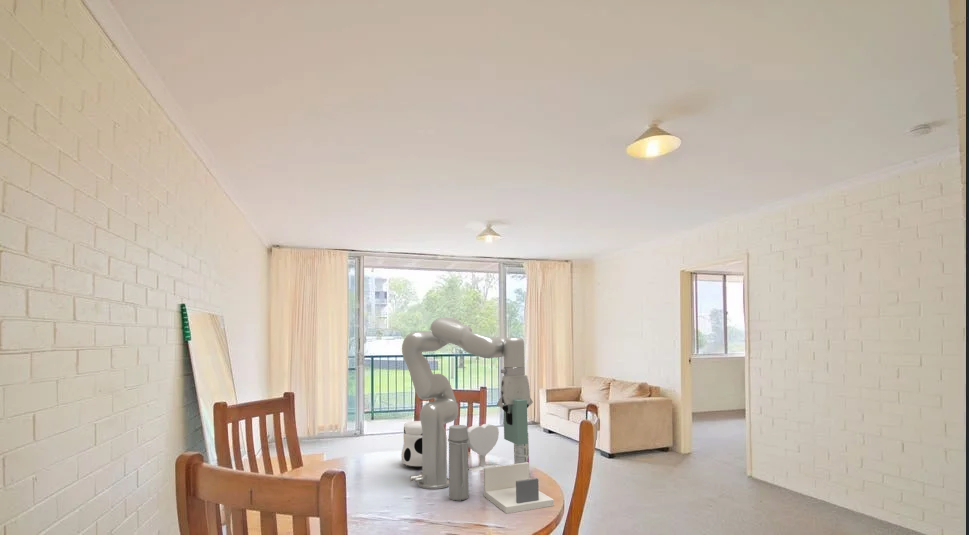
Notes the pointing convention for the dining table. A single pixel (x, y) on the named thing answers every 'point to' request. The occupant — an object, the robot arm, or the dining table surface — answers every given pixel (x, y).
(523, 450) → the candy bar box
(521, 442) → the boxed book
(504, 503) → the shelf
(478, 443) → the heart sculpture
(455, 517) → the dining table surface
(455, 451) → the water bottle
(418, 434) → the milk container
